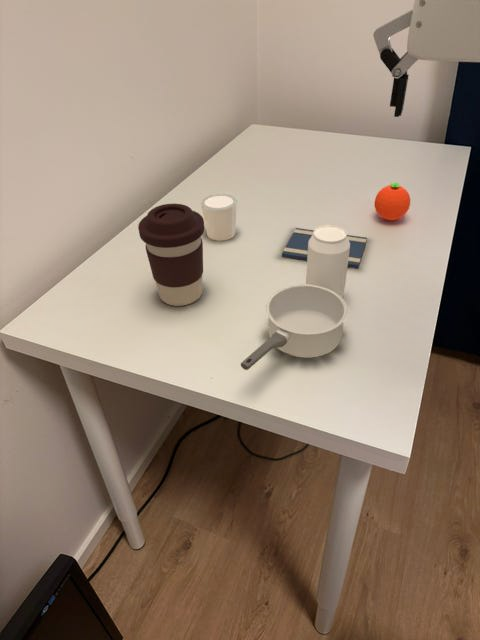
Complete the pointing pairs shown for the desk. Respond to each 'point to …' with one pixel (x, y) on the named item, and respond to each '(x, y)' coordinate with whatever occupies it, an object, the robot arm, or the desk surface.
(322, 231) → the beverage can
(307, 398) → the desk surface
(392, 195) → the clementine
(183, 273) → the coffee cup
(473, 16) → the robot arm
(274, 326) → the saucepan
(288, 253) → the towel
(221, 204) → the white candle
